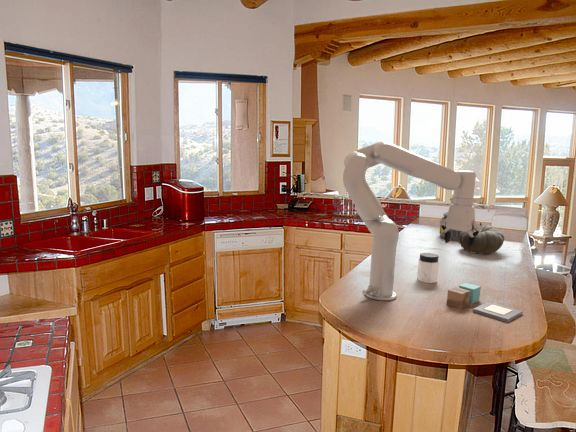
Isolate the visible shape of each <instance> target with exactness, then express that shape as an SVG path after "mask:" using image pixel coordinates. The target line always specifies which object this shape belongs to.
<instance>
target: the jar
mask: <svg viewBox="0 0 576 432" xmlns="http://www.w3.org/2000/svg"><path fill="white" fill-rule="evenodd" d="M439 264H440V261H439V254H436V253H431V252H421V253H420V254H419V259H418V264H417V274H416V275H417V277H416V279H417V280H418V281H419V282H420V283H427V284H433V283H434V284H435V283H438V275H439V267H440V265H439Z"/></svg>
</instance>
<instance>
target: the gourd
mask: <svg viewBox="0 0 576 432" xmlns="http://www.w3.org/2000/svg"><path fill="white" fill-rule="evenodd" d="M479 225H481V226H482V227H483V229H482V230H481V232H480V233H479V234H478V235H477V236H475V241H474V245H473V246H472V247H468V241H469V237H470V235H469V233H468V232H463V231H461V232H460V234H459V240H458V243H459V245H460V246H461V248H462V249H463V250H464V251H466V252H468V253H471V254H477V255H479V254H483V255H488V256H489V255H493V254H494V253H496V252H497V251H499V250H500V249H501V248H502V246H503V244H504V242H505V235H504V233H503V232H502V231H501V230H500V229H498V228H497V227H494V226H492V225H491V224H490V225H489V224H487V225H483V224H482V222H479ZM476 231H477V228H476V227H474V232H476Z"/></svg>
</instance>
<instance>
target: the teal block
mask: <svg viewBox="0 0 576 432" xmlns="http://www.w3.org/2000/svg"><path fill="white" fill-rule="evenodd" d="M458 288H461V289H465V290H469V291H470V296H469V304H475V303H477V302H480V298H481V297H480V296H481V288H482V287H481V286H480V285H476V284H472V283H468V282H465V283H462V284H460V285H459V286H458Z"/></svg>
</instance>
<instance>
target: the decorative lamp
mask: <svg viewBox="0 0 576 432" xmlns="http://www.w3.org/2000/svg"><path fill="white" fill-rule="evenodd" d="M452 197H453V194H451V196H450V198H452ZM450 203H451V204H453V203H452V201H450ZM447 215H448V211H447V212H444V213H443V216H442V217H441V220H443V219H446V218H447ZM439 224H440V223H439ZM445 225H446V222H445ZM460 232H461V231H457V230H450V233H451V236H450V241H451V240H452V241H459V234H460ZM439 236H440V238H442V239H444V237H445V232H444V230H443V229H442V227H441V224H440V226H439Z"/></svg>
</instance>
